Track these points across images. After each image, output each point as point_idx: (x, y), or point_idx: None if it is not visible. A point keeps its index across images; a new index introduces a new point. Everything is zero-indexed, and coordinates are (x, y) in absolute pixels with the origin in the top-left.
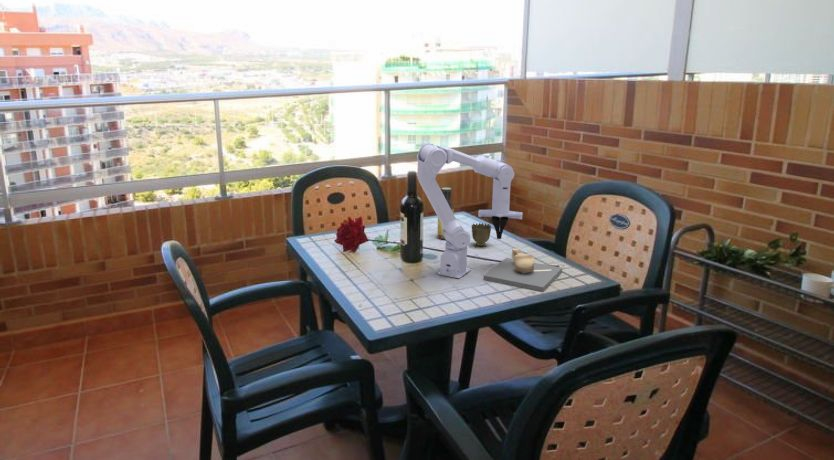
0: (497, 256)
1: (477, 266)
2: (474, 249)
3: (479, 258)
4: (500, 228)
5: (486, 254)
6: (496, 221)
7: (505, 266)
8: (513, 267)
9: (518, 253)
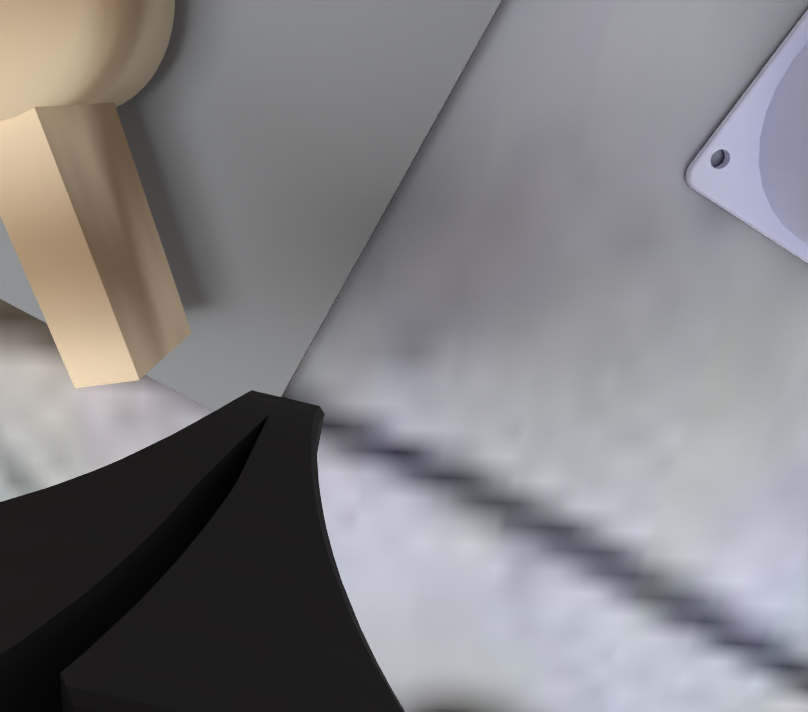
0: (339, 537)
1: (575, 298)
2: (512, 684)
3: (509, 501)
4: (160, 503)
5: (429, 583)
6: (191, 695)
7: (284, 170)
8: (194, 137)
9: (43, 178)
